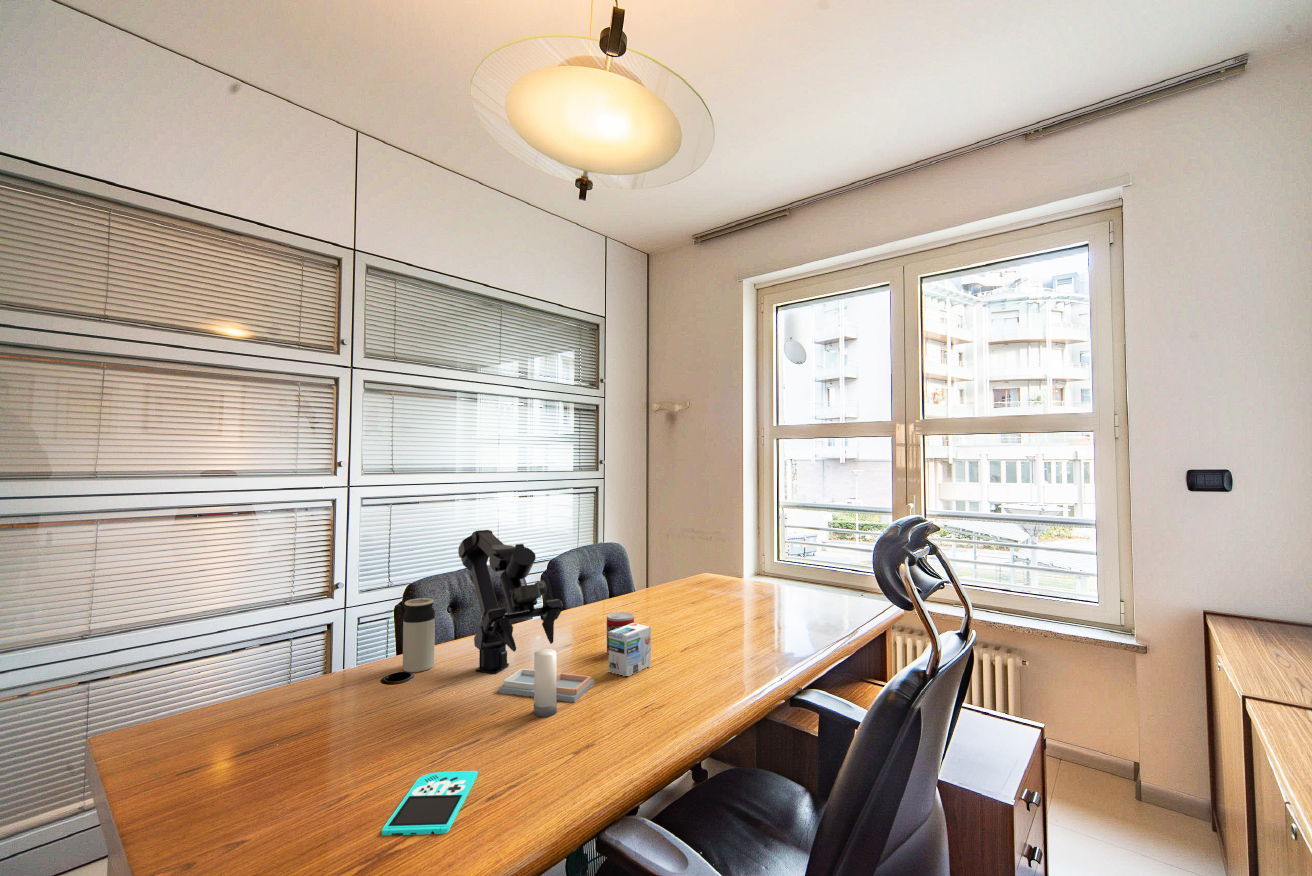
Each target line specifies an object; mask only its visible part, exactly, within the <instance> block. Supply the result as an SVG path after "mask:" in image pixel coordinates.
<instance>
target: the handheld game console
mask: <svg viewBox="0 0 1312 876" xmlns="http://www.w3.org/2000/svg"><path fill="white" fill-rule="evenodd" d="M478 773H479V771H477V770H461V771H458V770H457V771H454V770H452V771H438V772H430V773H427V774H423V775H421V776H420V777H419V778H417V780H415V782H414V784H413V785H412V786H411V788H410V789H409V790H408V792H407V794H405V796H404V798H403V799H402V800H401V801H400V804H399V805H398V806H397V808H396V809H395V810H394V811H393V814H392V815H391V816H390V817H389V819H388V820H387V821H386V823H385V825H384V826H383V827H382V829H381V836H393V835H392V834H394V836H405V835H406V836H408V835H409V836H410V835H432V834H433V833H434V835H441V834H442V835H443V834H444V835H445V834H447V833H449V831H450V829H451V827H452V826H453V823H454V822H455V820H456V818H457V817H458V814H459V812H460V810H461V808H462V806H463V805H464V803H465V801H466V799H467V797H468V795H469V794H470V791H471V789H472V787H473V785H474V783H475V782H476V780H477V777H478Z"/></svg>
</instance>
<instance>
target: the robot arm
mask: <svg viewBox="0 0 1312 876" xmlns="http://www.w3.org/2000/svg"><path fill="white" fill-rule="evenodd" d="M458 556H459V558H460V560H461V563H462V565H463V567H465V568H466V569H467V570H469V571H470V574H471V578H472V580H473V581H472V582H473V585H474V590H475V593H476V598H477V601H478V605H479V608H480V613H481V617H480V620H479V622H478V626H477V627H478V628H477V630H476V633H475V635H474V636H473V643H474V647H475V648H476V649H478V650H479V651H478V652H479V653H478V654H479V659H478V660H479V661H478V663H479V664H478V665H479V667H477V668H475V672H481V673H490V674H498V673H499V672H500V671H502V670H504V669H506V668H507V667H509V665H510V663H508V650H507V647H508V649H511V651H512V652H516V651H517V647H516V641H515V639H514V636H513V632H514V626H513V623H512V621H518V620H525V619H530V618H536V617H540V620H541V621H542V623H541V625H542V628H543V630H544V633H545V635H546V638H547V640H548V642H549V643H550V644H551V645H552V644H553V643H554V631H555V630H554V629H555V627H554V626H555V621H556V620H558V618H559V617H560V615H561V613H562V610H563V609H564V605H563V601H562V600H561V599H560V598H555V599H548V600H545V601H544V603H543V605H542V606H541V607H535V606H536V605H537V604H538V599H539V598H540V599H541V598H542V596H544V595H545V594H547V591H548V590H547V584H546V582H545V581H544V580H538V581H536V582H535V583H534V584H527V582H526V579H525V578H527V577H528V576H529V574H530V572H531V570H532V568H533V565H534V564H535V561H536V559H537V558H536V553H535V552H534V551H533V550H532V549H530V548H529V547H526V546H525V544H524V543H520V544H519V543H517V544H515V545H508V544H505V543H503V541H501V540H500V539H499V538H498V537H496V536H495V535H494V534H493V531H492V530H490V529H480V530H479V529H478V530H475V531H473V532H472V534H471V535H470V536H468V537H466V538H464V539H463V540H462V541H461V542H460V544H459V546H458ZM488 561H489V566H490V568H491V569H492V570H493V572H495V573H496V572H502V573H501V574H500V577H499V582H498V583H499V587H502V591H503V594H504V597H505V600H504V604H505V606H507V607H508V610H509V612H508V610H507V609H506V607H505V608H504V607H499V603H498V600H497V595H496V592H495V588H494V585H493V582H492V579H491V575H490V571H489V566H488Z"/></svg>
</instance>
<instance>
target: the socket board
mask: <svg viewBox="0 0 1312 876" xmlns="http://www.w3.org/2000/svg"><path fill="white" fill-rule="evenodd" d="M502 682H503V685H501V686H500V687H499V689H498V690H499V691H498V692H499V694H506V695H507V694H508V695H514V694H515V695H514V696H521V695H523V696H522V697H529V696H531V698H534V669H529V668H520V669H519V670H517V671H516V672H514V673H512V674H511V675H510V676H508V677H506V678H505V679H503V681H502ZM593 684H594V685H595V679H592V676H590V675H585V674H584V675H582V674H573V673H564V672H561V673H560V672H559V673H558V674H556V701H561V702H569V703H576V702H577V701H578V700H579V699H580V698H581V697H582V696H583V695H585V693H587V692H588V691H589V690H590V689H591V688H592V687H593V686H594V685H593ZM592 685H593V686H592ZM591 686H592V687H591ZM590 687H591V688H590ZM589 688H590V689H589ZM588 689H589V690H588ZM587 690H588V691H587ZM586 691H587V692H586ZM582 694H583V695H582ZM579 697H580V698H579Z"/></svg>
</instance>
